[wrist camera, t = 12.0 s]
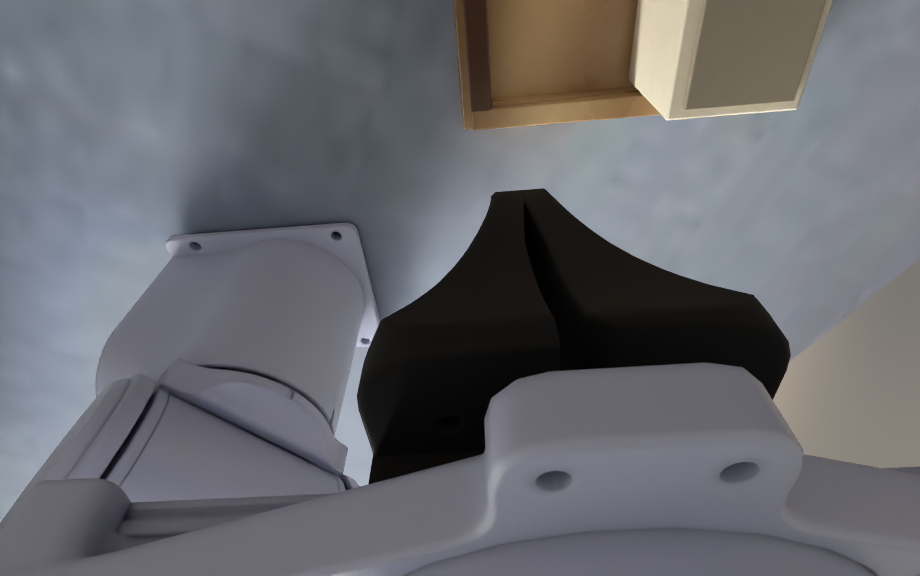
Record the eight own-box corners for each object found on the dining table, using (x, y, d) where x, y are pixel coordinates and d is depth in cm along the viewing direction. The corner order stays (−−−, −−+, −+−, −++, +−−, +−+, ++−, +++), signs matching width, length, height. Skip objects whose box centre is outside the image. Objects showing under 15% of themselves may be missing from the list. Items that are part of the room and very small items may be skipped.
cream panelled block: (627, 80, 19) (669, 124, 15) (642, -45, 17) (695, -28, 13) (734, 70, 19) (803, 113, 15) (765, -58, 16) (856, -44, 13)
